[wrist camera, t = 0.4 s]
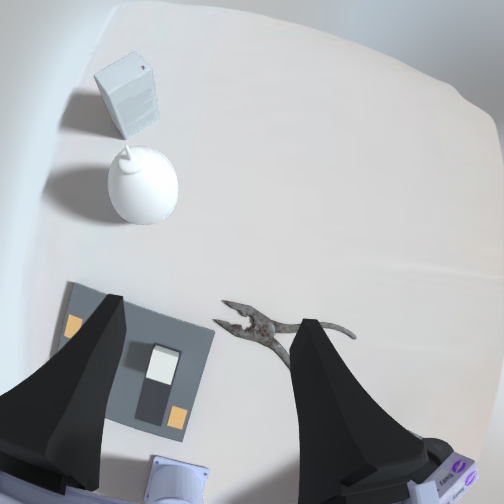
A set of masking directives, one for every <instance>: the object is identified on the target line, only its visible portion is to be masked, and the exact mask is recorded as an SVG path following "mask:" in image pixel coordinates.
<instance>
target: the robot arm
mask: <svg viewBox="0 0 504 504" xmlns="http://www.w3.org/2000/svg"><path fill="white" fill-rule="evenodd" d="M126 332H127V327H126V319H125V310H124V301H123V296H119V295H113V294H108V295H106V297H105V298H104V299H103V301H102V302H101V303H100V304H99V306H98V307H97V308H96V309H95V311H94V312H93V313H92V314H91V316H90V317H89V318H88V319H87V320H86V322H85V323H84V324H83V325H82V326H81V328H80V329H79V330H78V331H77V332H76V333H75V334H74V335H73V337H72V338H71V339H70V340H69V341H68V342H67V343H66V344H65V345H64V346H63V347H62V348H61V349H60V350H59V351H58V352H57V353H56V354H55V355H54V356H53V357H52V358H51V359H50V360H49V361H48V362H46V363H45V364H44V365H43V366H42V367H41V368H39V369H38V370H37V371H36V372H35V373H33V374H32V375H31V376H29V377H28V378H27V379H25V380H24V381H22V382H21V383H20V384H18V385H17V386H15V387H14V388H13V389H11V390H9V391H8V392H6V393H4V394H3V395H1V396H0V504H141V503H135V502H130V501H125V500H120V499H115V498H111V497H107V496H102V495H98V494H95V493H91V492H92V491H95V490H96V489H98V488H99V470H100V454H101V443H102V434H103V426H104V419H105V413H106V407H107V402H108V398H109V395H110V391H111V388H112V384H113V381H114V378H115V375H116V371H117V368H118V365H119V362H120V358H121V355H122V352H123V347H124V342H125V337H126ZM289 351H290V372H291V379H292V385H293V391H294V397H295V403H296V409H297V415H298V422H299V439H300V482H299V498H298V504H440V500H439V496H438V492H437V488H436V484H435V481H434V480H431V481H428V482H425V483H422V484H419V485H415V486H412V487H410V488H408V486H407V483H408V482H410V477H409V474H411V473H412V472H414V471H416V470H418V469H419V468H421V467H422V466H424V465H425V464H426V463H427V462H428V461H429V458H428V454H427V451H426V448H425V444H424V442H423V441H422V440H421V439H419V438H418V437H416V436H415V435H413V434H412V433H410V432H409V431H408V430H406V429H405V428H404V427H402V426H401V425H400V424H399V423H398V422H396V421H395V420H394V419H393V418H392V417H391V416H389V415H388V414H387V413H386V412H385V411H384V410H383V409H382V408H381V407H380V406H379V405H378V404H377V403H376V402H375V401H374V400H373V399H372V398H371V396H370V395H369V394H368V393H367V392H366V391H365V390H364V388H363V387H362V386H361V385H360V384H359V382H358V381H357V380H356V378H355V377H354V376H353V374H352V373H351V372H350V370H349V369H348V367H347V366H346V364H345V363H344V361H343V360H342V358H341V357H340V355H339V354H338V352H337V351H336V349H335V348H334V346H333V344H332V343H331V341H330V340H329V338H328V336H327V335H326V333H325V331H324V330H323V328H322V326H321V325H320V323H319V321H318V320H316V319H303V320H302V323H301V325H300V327H299V329H298V331H297V334H296V336H295V338H294V340H293V342H292V345H291V347H290V349H289ZM155 461H158V463H156V462H155ZM204 473H207V474H204ZM209 473H210V470H209V469H208V468H205V467H200V466H195V465H191V464H187V463H183V462H179V461H175V460H171V459H167V458H163V457H160V456H155V457H154V460H153V464H152V468H151V472H150V476H149V480H148V484H147V488H146V492H145V496H144V502H146V504H204V501H203V490H204V487H205V485H206V482H207V479H208V476H209ZM80 489H82V490H80ZM83 490H88V491H91V492H87V491H83ZM147 495H149V496H147Z"/></svg>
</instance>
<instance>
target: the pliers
mask: <svg viewBox="0 0 504 504" xmlns="http://www.w3.org/2000/svg"><path fill="white" fill-rule="evenodd" d="M225 302H226V303H227V304H229V305H230V306H231V307H233V308H234V309H238V310H240V311H241V312H242V314H243V316H245V317H247V316H249V315H250V316H252V317H253V318H254V320H253V323H254V324H255V326H254V328H250V329H249V330H247V331H244V330H243V329H242V326H241V325H236V326H234V325H231V324H230V323H229V322H225V321H221V320H217V322H218V323H219V324H221V325H222V326H223V327H225V328H226V329H227V330H229V331H230V332H231V333H233V334H234V335H235V336H237V337H240V338H244V339H248V340H252V341H256V342H261V343H262V344H264V345H266V346H268V347H270V348H271V349H273V350H274V351H275V352H276V353H277V354H278V355H279V356H280V357H281V358H282V359H283V361H284V362H285V363H286V365H287V366H288V367H289V369H290V356H289V354H288V353H287V352H286V350H285V349H284V348H283V347H282V346H281V344H280V343H279V342H278V341H277V340H276V339H274V335H275V333H297V331H298V329H299V327H300V325H301V324H299V325H286V324H281V323H279V322H276V321H273V320H270V319H269V318H268V317H266V316H265V315H263V314H262V313H260V312H259V311H257V310H256V309H255V308H253V307H252V306H249V305H244V304H239V303H235V302H231V301H225ZM320 325H321V326H322V328H330V329H335V330H338V331H341V332H343V333H345V334H347V335H348V336H350V337H351V338H353V339H356V338H357V337H356V336H355V335H354V334H353V333H352V332H351V331H349V330H347V329H345V328H344V327H341V326H338V325H335V324H332V323H325V322H320Z"/></svg>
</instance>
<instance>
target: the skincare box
mask: <svg viewBox="0 0 504 504" xmlns="http://www.w3.org/2000/svg"><path fill="white" fill-rule="evenodd" d="M94 78H95V81H96V83H97V86H98V88H99V90H100V93H101V95H102V98H103V100H104V102H105V105H106V107H107V109H108V112H109V114H110V116H111V119H112V121H113V123H114V124H115V125H116V127H117V128H118V130H119V131H120V133H121V134H122V136H123V137H124V138H125V140H127V139H128V138H130V137H131V136H133V135H134V134H136V133H137V132H139V131H140V130H142V129H143V128H145V127H146V126H148V125H149V124H151V123H153V122H154V121H156V120H157V119H159V118H160V115H159V108H158V102H157V95H156V88H155V81H154V74H153V68H152V67H151V66H150V65H149V64H148V63H147V62H146V61H145V60H144V59H143V58H142V57H141V56H140V54H139V53H138V52H137V51H134V52H132V53H130V54H128V55H127V56H125V57H123V58H121V59H120V60H118V61H116V62H115V63H113V64H111V65H110V66H108V67H106V68H105V69H103V70H101V71H100V72H98V73H97V74H95V75H94Z"/></svg>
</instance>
